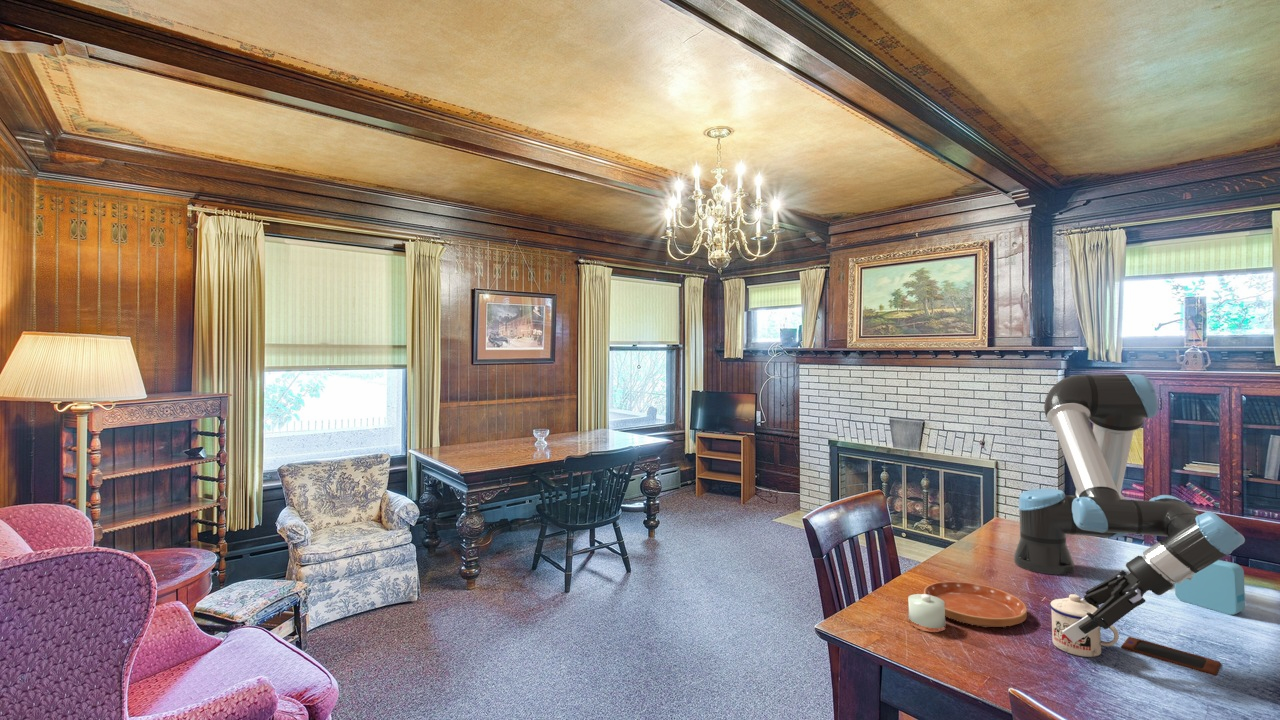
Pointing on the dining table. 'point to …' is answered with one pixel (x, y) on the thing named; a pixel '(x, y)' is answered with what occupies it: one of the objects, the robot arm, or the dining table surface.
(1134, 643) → the smartphone
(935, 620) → the sugar bowl
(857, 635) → the dining table surface
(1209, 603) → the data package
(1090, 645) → the teacup with lid
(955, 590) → the saucer
